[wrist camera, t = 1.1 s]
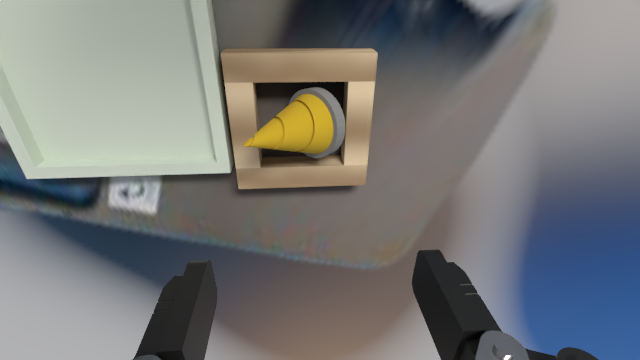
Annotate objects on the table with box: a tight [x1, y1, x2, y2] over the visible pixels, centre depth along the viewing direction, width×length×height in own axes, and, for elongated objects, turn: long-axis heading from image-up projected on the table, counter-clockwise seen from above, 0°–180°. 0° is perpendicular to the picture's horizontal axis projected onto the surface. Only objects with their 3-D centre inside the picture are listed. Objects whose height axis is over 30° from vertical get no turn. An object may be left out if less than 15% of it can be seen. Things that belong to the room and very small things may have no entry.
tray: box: [0, 0, 234, 179], centre depth 24 cm, size 16×16×2 cm
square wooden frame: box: [221, 48, 378, 189], centre depth 27 cm, size 11×11×2 cm
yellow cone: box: [243, 87, 345, 158], centre depth 25 cm, size 5×5×10 cm
